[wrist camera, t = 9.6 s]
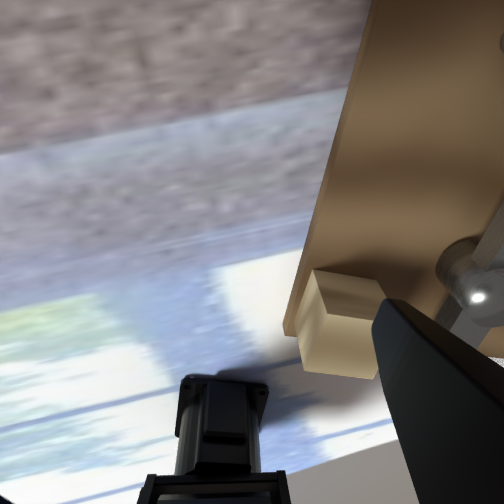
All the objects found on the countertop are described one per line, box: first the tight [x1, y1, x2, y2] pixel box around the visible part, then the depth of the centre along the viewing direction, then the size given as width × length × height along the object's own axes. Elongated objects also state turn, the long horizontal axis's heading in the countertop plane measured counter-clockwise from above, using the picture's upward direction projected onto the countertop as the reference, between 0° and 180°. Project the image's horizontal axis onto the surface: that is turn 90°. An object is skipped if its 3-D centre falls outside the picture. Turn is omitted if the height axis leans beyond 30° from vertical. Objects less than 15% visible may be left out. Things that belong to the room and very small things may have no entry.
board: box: [283, 0, 504, 358], centre depth 20 cm, size 22×18×4 cm
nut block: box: [294, 269, 387, 380], centre depth 21 cm, size 4×4×4 cm
